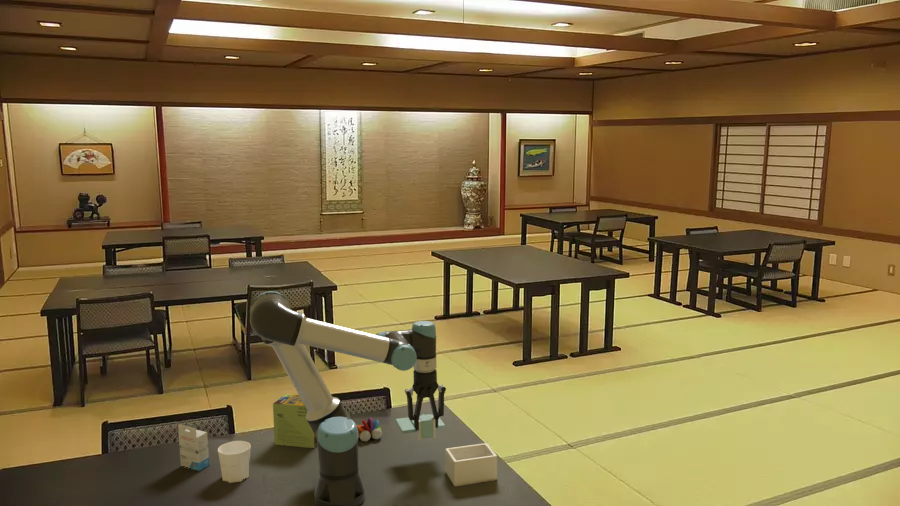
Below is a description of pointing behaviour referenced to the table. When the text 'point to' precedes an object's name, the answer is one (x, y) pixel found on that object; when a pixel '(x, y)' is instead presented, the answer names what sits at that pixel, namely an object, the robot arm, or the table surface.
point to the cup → (234, 460)
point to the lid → (426, 425)
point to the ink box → (193, 448)
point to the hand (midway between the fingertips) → (426, 437)
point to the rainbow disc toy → (369, 430)
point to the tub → (471, 464)
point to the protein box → (292, 423)
